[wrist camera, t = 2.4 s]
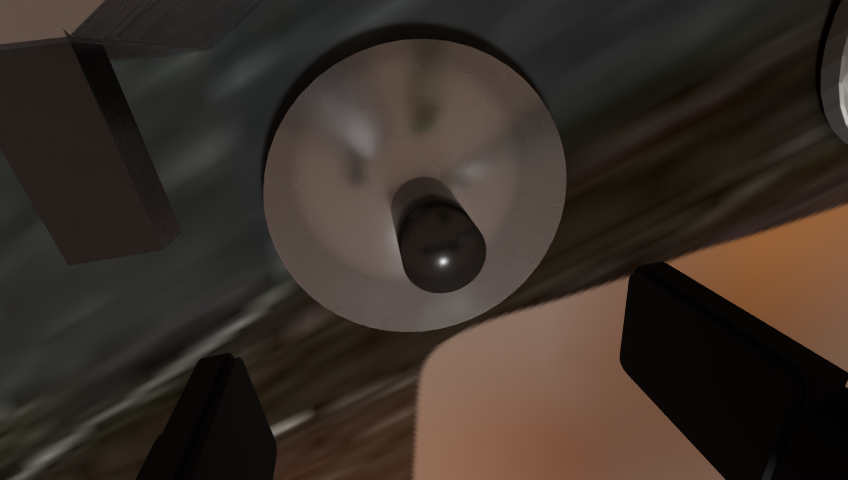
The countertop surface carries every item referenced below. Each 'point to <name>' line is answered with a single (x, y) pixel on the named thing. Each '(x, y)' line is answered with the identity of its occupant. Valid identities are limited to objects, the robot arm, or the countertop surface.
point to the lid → (414, 185)
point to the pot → (93, 114)
